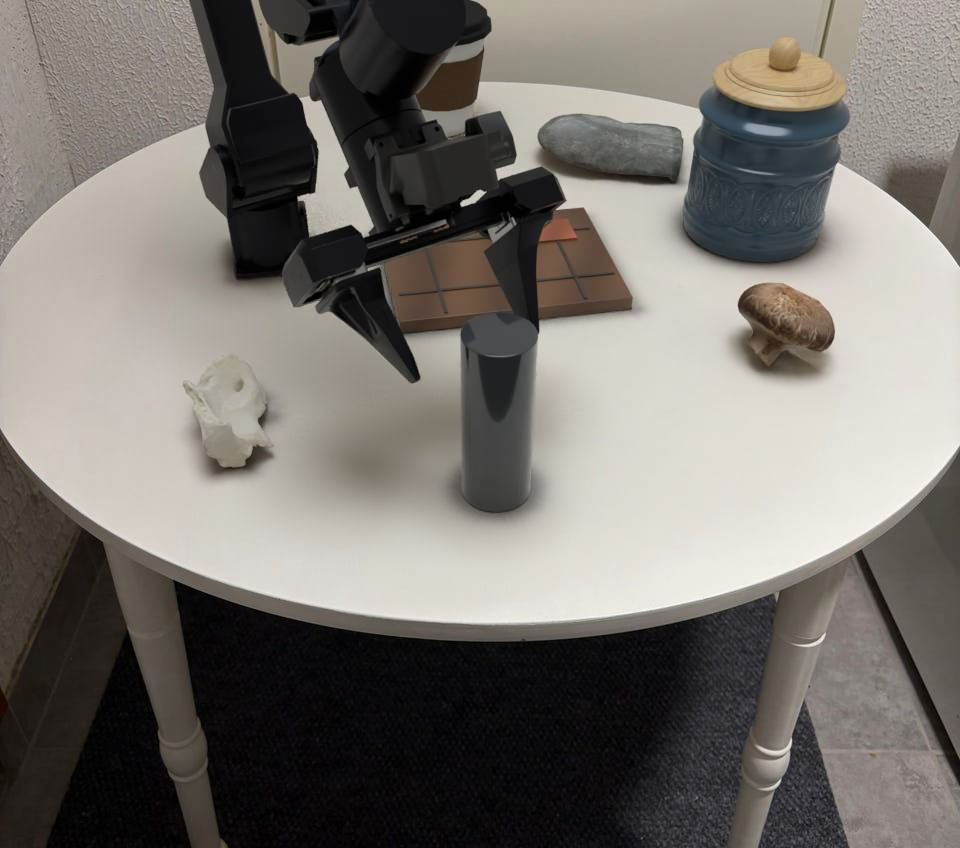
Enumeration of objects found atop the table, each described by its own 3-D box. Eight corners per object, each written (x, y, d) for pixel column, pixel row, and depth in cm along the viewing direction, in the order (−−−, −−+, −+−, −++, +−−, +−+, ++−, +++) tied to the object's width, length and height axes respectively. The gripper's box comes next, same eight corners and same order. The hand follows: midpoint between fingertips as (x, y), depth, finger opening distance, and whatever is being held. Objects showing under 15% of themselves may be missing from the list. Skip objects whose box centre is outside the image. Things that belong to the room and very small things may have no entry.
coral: (260, 379, 82) (251, 331, 79) (283, 463, 75) (275, 414, 72) (187, 392, 81) (176, 344, 78) (203, 478, 74) (192, 430, 71)
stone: (529, 171, 107) (673, 201, 107) (536, 136, 104) (684, 167, 104) (541, 116, 114) (675, 144, 114) (548, 81, 111) (686, 110, 111)
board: (400, 333, 87) (399, 319, 86) (376, 237, 98) (375, 224, 97) (631, 309, 90) (633, 295, 89) (583, 218, 101) (584, 205, 100)
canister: (694, 266, 95) (727, 69, 82) (669, 197, 104) (696, 11, 92) (835, 264, 95) (889, 68, 83) (798, 195, 104) (842, 10, 92)
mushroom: (747, 355, 79) (786, 278, 78) (700, 334, 86) (736, 264, 85) (826, 393, 82) (866, 319, 81) (775, 370, 89) (811, 302, 88)
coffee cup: (403, 101, 120) (398, -10, 112) (497, 108, 119) (499, -3, 111) (382, 143, 112) (375, 27, 104) (482, 151, 111) (483, 34, 103)
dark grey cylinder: (468, 516, 71) (468, 360, 62) (456, 470, 75) (454, 316, 66) (537, 507, 72) (546, 352, 63) (521, 462, 75) (528, 308, 66)
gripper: (276, 109, 56) (391, 379, 57) (557, 39, 63) (654, 279, 64) (239, 188, 66) (337, 416, 67) (484, 120, 74) (569, 326, 75)
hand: (476, 358), depth 68 cm, fingers open, 9 cm apart
